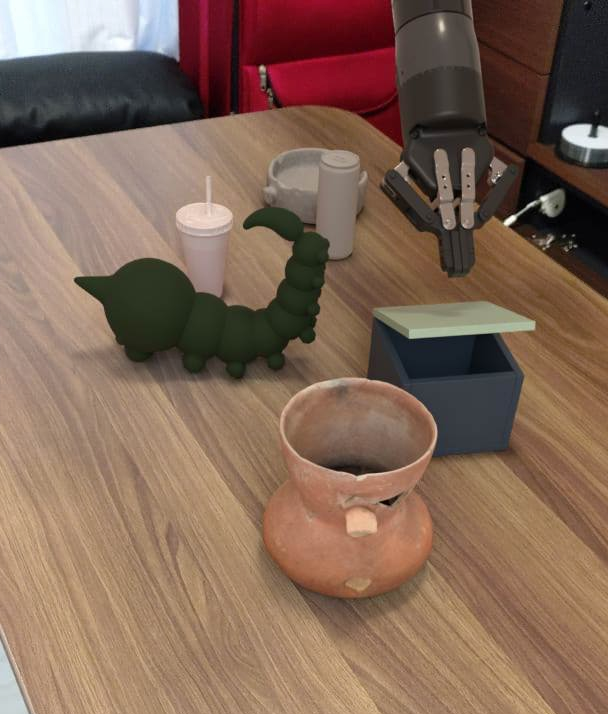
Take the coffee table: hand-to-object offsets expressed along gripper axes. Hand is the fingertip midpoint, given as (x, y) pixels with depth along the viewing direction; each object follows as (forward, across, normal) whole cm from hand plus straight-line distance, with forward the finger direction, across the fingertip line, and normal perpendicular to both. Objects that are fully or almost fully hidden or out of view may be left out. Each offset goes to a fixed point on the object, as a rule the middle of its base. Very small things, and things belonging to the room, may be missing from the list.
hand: (459, 275), depth 87 cm
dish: (-22, -3, +46) cm, 51 cm away
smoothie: (-8, -20, +31) cm, 37 cm away
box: (+11, 0, +12) cm, 16 cm away
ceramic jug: (+23, -13, 0) cm, 27 cm away
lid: (+3, 0, +4) cm, 5 cm away
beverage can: (-13, -3, +36) cm, 39 cm away
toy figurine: (+2, -22, +21) cm, 30 cm away
